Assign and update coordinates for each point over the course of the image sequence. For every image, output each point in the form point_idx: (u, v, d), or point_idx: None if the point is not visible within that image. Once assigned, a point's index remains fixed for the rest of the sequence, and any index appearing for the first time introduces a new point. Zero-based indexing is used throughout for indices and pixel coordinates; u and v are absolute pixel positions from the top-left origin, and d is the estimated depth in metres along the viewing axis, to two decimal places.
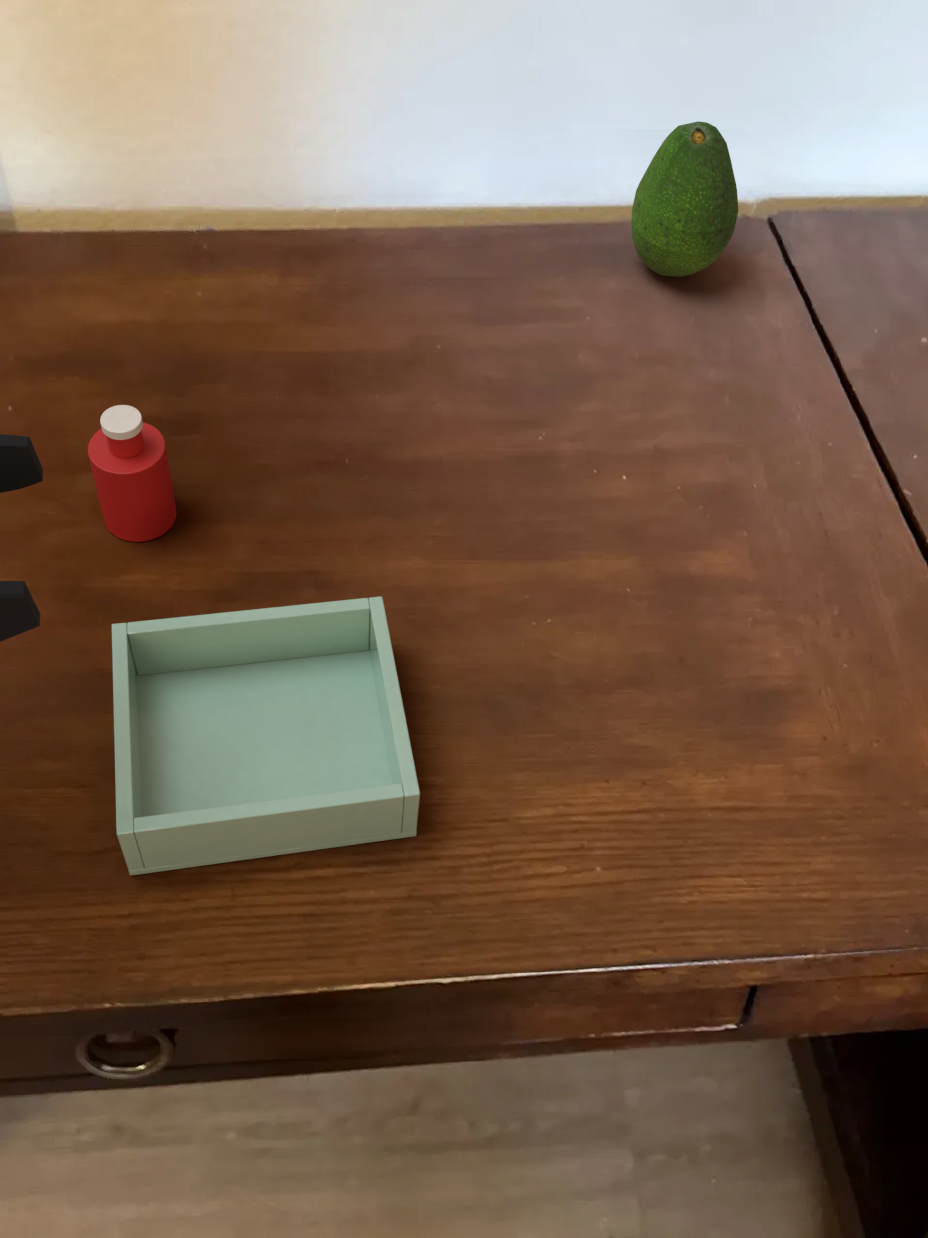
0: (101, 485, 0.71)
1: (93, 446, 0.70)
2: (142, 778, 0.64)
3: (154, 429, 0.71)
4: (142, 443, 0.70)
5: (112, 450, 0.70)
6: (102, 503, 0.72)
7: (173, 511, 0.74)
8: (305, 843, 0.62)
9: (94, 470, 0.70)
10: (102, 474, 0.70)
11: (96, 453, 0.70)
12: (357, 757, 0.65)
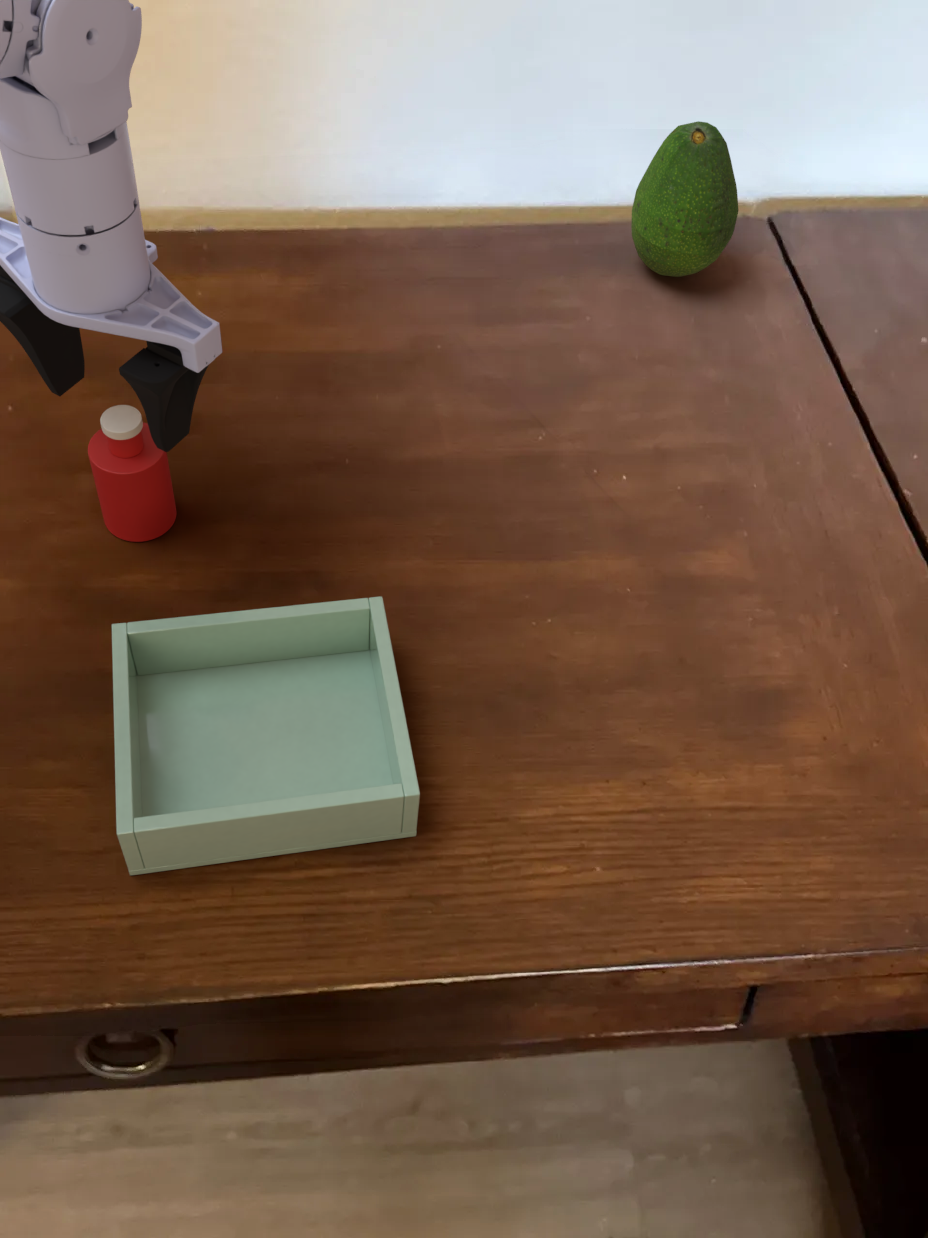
0: (101, 485, 0.71)
1: (93, 446, 0.70)
2: (142, 778, 0.64)
3: None
4: (142, 443, 0.70)
5: (112, 450, 0.70)
6: (102, 503, 0.72)
7: (173, 511, 0.74)
8: (305, 843, 0.62)
9: (94, 470, 0.70)
10: (102, 474, 0.70)
11: (96, 453, 0.70)
12: (357, 757, 0.65)
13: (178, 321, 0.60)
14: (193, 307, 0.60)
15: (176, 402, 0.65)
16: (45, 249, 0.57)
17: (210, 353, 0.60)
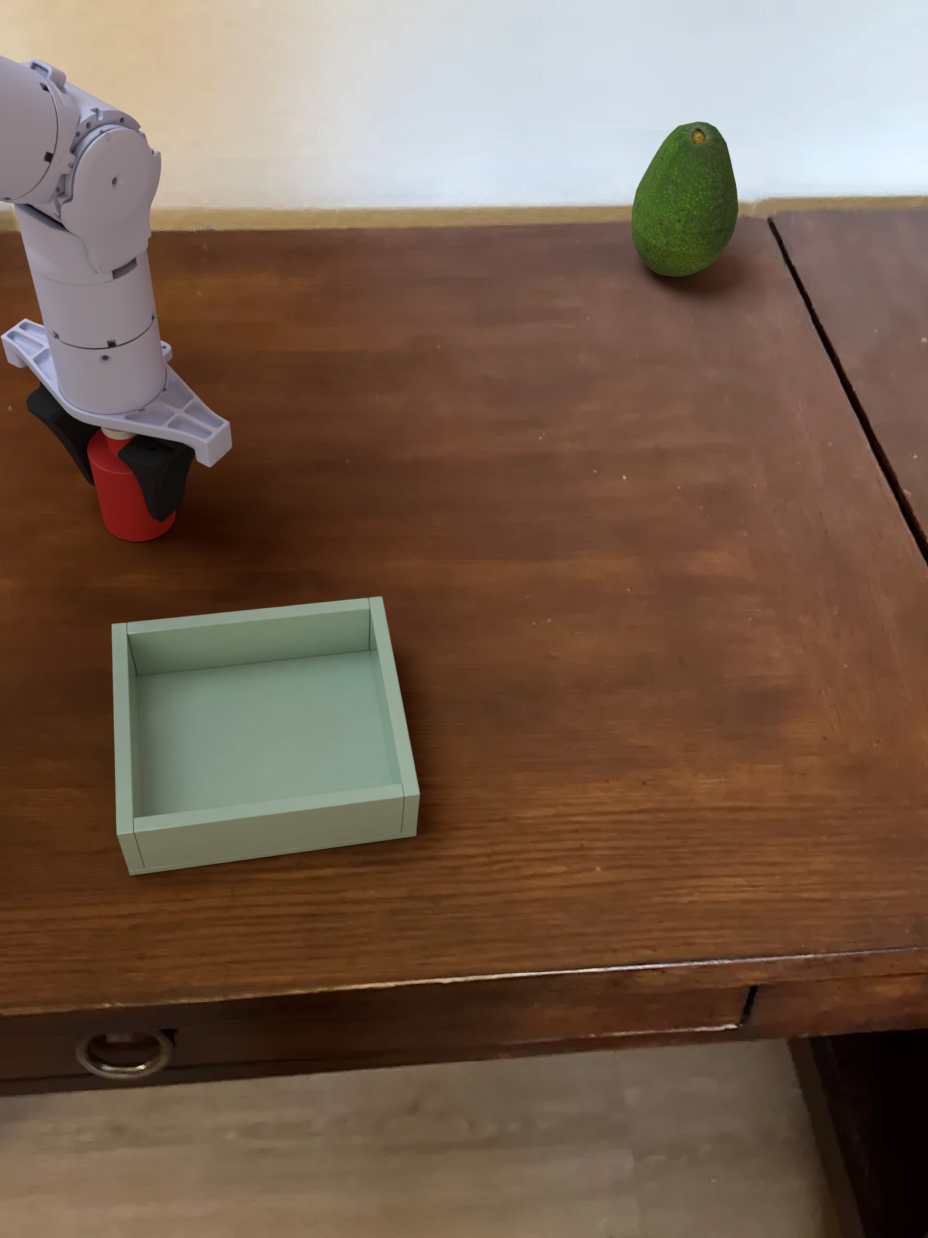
0: (100, 485, 0.71)
1: (93, 446, 0.70)
2: (142, 778, 0.64)
3: None
4: None
5: (112, 450, 0.70)
6: (102, 503, 0.72)
7: None
8: (305, 843, 0.62)
9: (94, 470, 0.70)
10: (101, 474, 0.70)
11: (96, 453, 0.70)
12: (357, 757, 0.65)
13: (192, 421, 0.65)
14: (205, 407, 0.66)
15: (170, 478, 0.71)
16: (71, 359, 0.62)
17: (221, 449, 0.66)
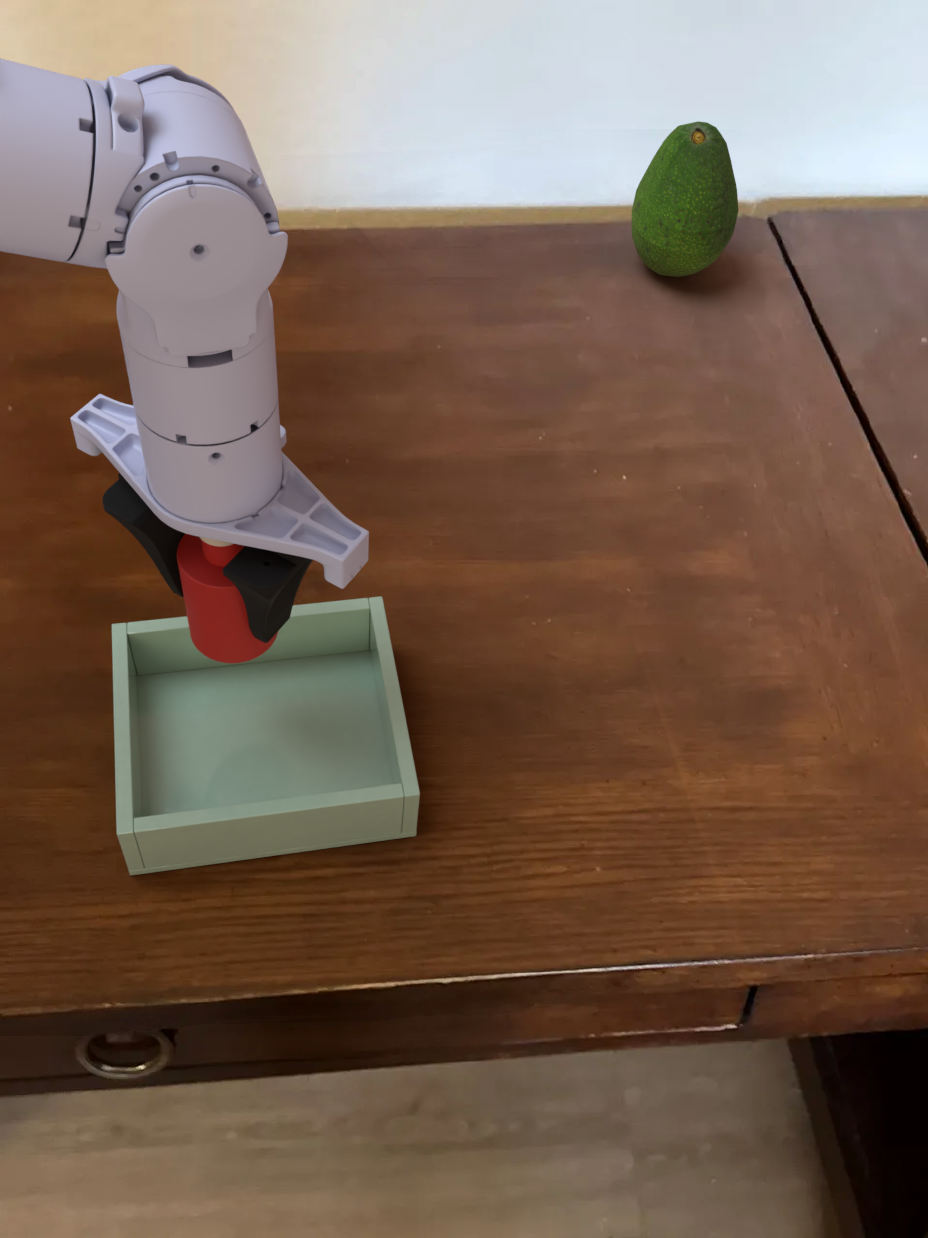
0: (192, 600, 0.56)
1: (183, 551, 0.56)
2: (142, 778, 0.64)
3: None
4: None
5: (209, 557, 0.55)
6: (192, 618, 0.58)
7: None
8: (305, 843, 0.62)
9: (185, 582, 0.56)
10: (195, 588, 0.55)
11: (188, 561, 0.56)
12: (357, 757, 0.65)
13: (321, 530, 0.50)
14: (336, 511, 0.51)
15: (280, 591, 0.56)
16: (170, 457, 0.48)
17: (356, 565, 0.51)
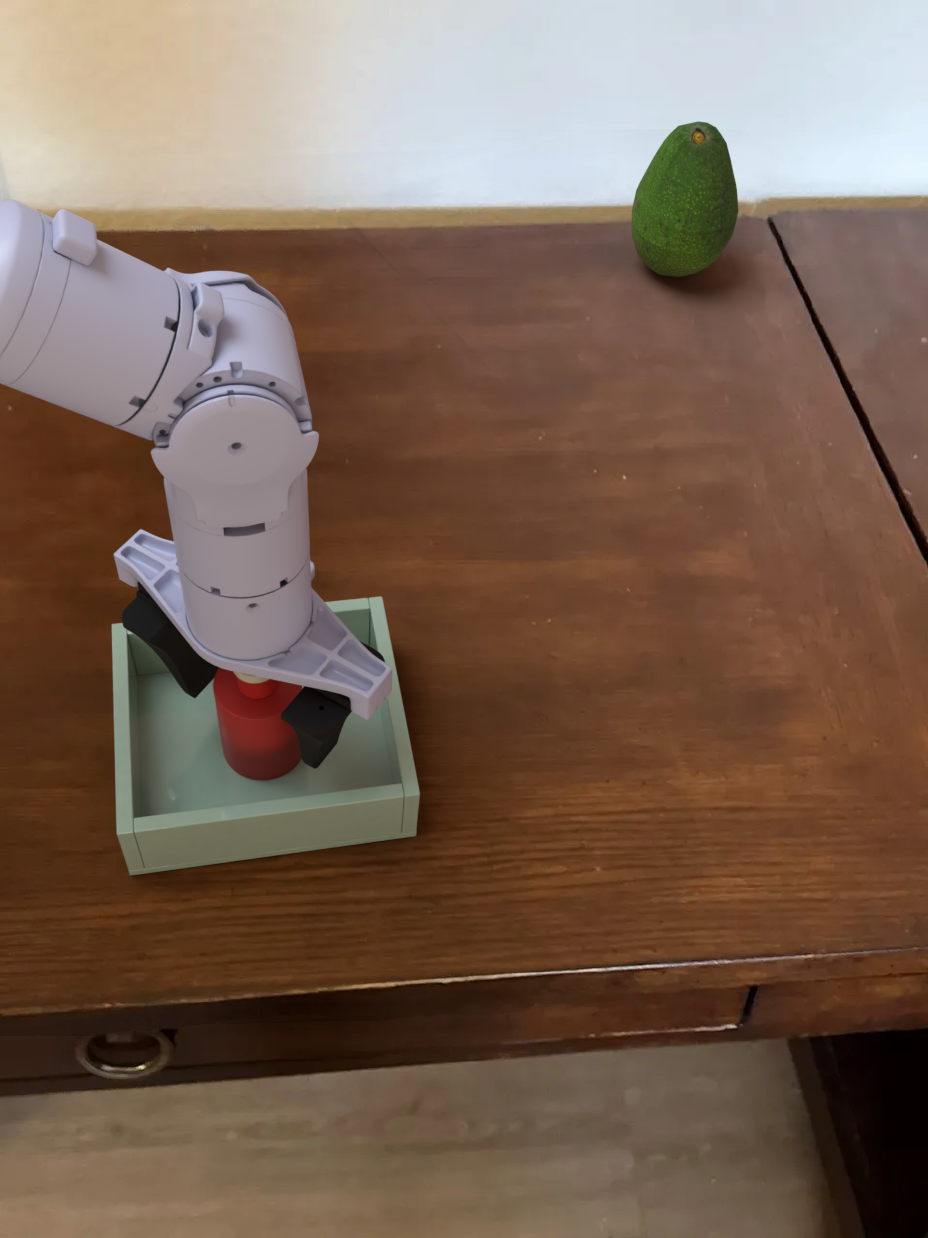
0: (227, 728, 0.61)
1: (219, 684, 0.60)
2: (142, 778, 0.64)
3: None
4: (276, 680, 0.60)
5: (243, 691, 0.60)
6: (226, 742, 0.63)
7: None
8: (305, 843, 0.62)
9: (221, 712, 0.60)
10: (231, 719, 0.60)
11: (223, 694, 0.60)
12: (357, 757, 0.65)
13: (348, 667, 0.54)
14: (362, 647, 0.55)
15: None
16: (210, 606, 0.52)
17: (381, 698, 0.55)
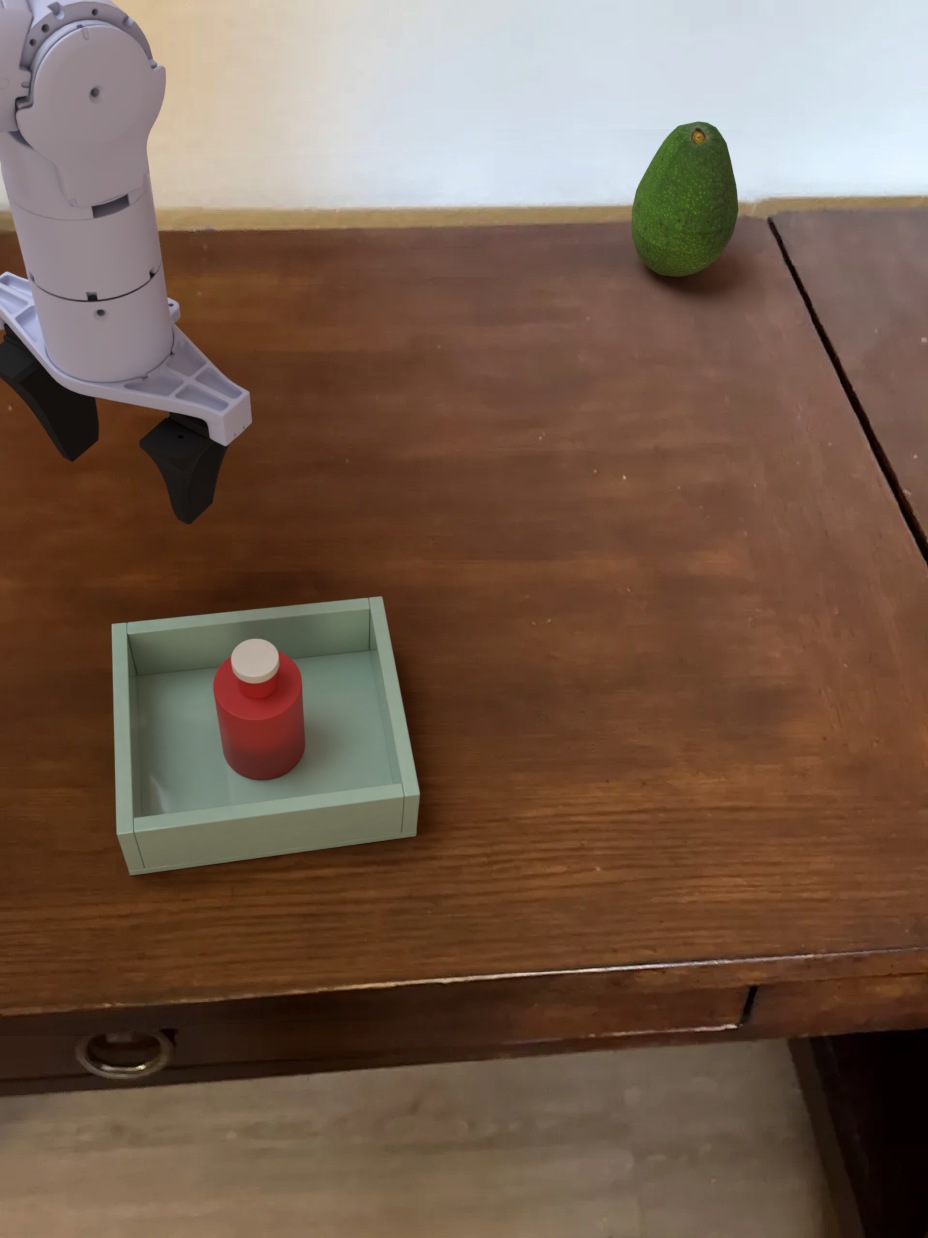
0: (227, 728, 0.61)
1: (219, 684, 0.60)
2: (142, 778, 0.64)
3: (288, 659, 0.62)
4: (276, 680, 0.60)
5: (243, 691, 0.60)
6: (226, 742, 0.63)
7: (303, 743, 0.65)
8: (305, 843, 0.62)
9: (221, 712, 0.60)
10: (231, 719, 0.60)
11: (223, 694, 0.60)
12: (357, 757, 0.65)
13: (204, 390, 0.54)
14: (220, 374, 0.55)
15: (200, 472, 0.60)
16: (59, 315, 0.52)
17: (239, 424, 0.55)
